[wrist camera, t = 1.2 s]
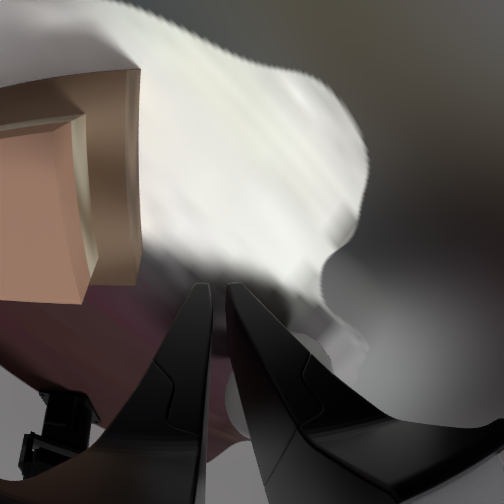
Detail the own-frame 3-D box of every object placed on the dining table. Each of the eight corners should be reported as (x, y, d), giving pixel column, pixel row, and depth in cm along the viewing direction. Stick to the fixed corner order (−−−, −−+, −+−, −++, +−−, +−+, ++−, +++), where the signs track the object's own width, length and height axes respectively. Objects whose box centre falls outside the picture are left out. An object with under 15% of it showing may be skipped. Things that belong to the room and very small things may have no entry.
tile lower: (98, 257, 17) (90, 278, 15) (-10, 256, 15) (-23, 274, 14) (85, 113, 13) (71, 121, 11) (-36, 132, 11) (-56, 143, 9)
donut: (234, 374, 31) (251, 464, 23) (211, 360, 29) (223, 456, 21) (319, 322, 29) (359, 414, 20) (300, 303, 27) (341, 403, 19)
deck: (142, 249, 22) (135, 285, 18) (-17, 249, 19) (-39, 279, 16) (140, 69, 15) (126, 69, 12) (-43, 100, 12) (-78, 113, 9)
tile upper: (90, 278, 15) (81, 304, 14) (-23, 274, 14) (-38, 296, 12) (71, 121, 11) (52, 131, 9) (-56, 143, 9) (-79, 156, 8)
